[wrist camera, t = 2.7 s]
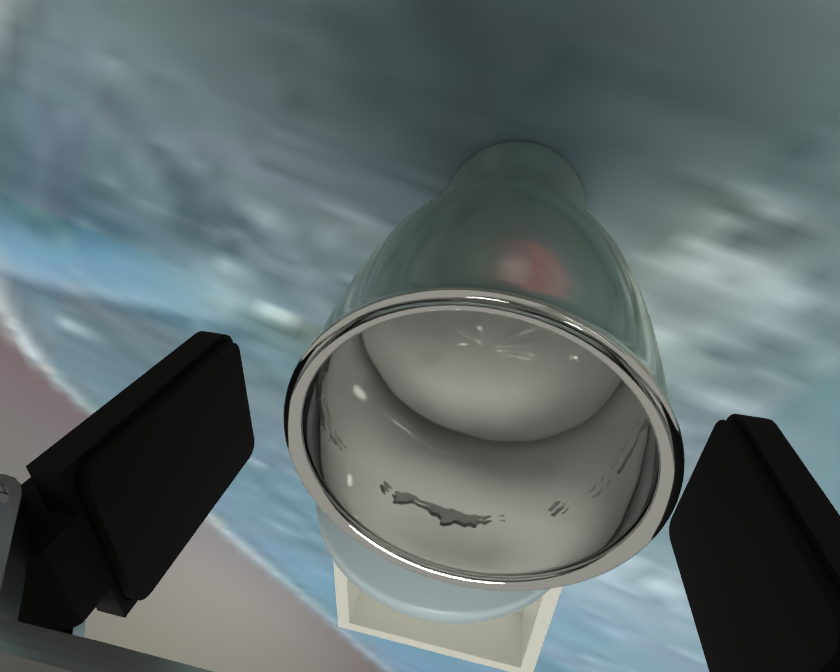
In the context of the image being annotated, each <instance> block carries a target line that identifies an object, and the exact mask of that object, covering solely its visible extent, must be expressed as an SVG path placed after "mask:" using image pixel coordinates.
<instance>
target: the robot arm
mask: <svg viewBox="0 0 840 672" xmlns="http://www.w3.org/2000/svg"><path fill="white" fill-rule="evenodd" d="M253 448H254V435H253V429H252V423H251V417H250V411H249V404H248V398H247V392H246V386H245V380H244V374H243V368H242V361H241V355H240V350H239V347H238V345H237V344H236V343H233V341H232V339H231V337H230V336H228V335H225V334H218V333H212V332H206V331H200V332H198V333H196V334H195V335H193V336H192V337H191V338H189V339H188V340H187V341H186V342H184V343H183V344H182V345H180V346H179V347H178V348H177V349H175V350H174V351H173V352H171V353H170V354H169V355H168V356H166V357H165V358H164V359H163V360H161V361H160V362H159V363H157V364H156V365H155V366H154V367H152V368H151V369H150V370H148V371H147V372H146V373H145V374H143V375H142V376H141V377H140V378H138V379H137V380H136V381H134V382H133V383H132V384H131V385H129V386H128V387H127V388H125V389H124V390H123V391H122V392H120V393H119V394H118V395H117V396H115V397H114V398H113V399H111V400H110V401H109V402H108V403H106V404H105V405H104V406H102V407H101V408H100V409H99V410H97V411H96V412H95V413H93V414H92V415H91V416H90V417H88V418H87V419H86V420H85V421H83V422H82V423H81V424H80V425H78V426H77V427H76V428H74V429H73V430H72V431H70V432H69V433H68V434H67V435H65V436H64V437H63V438H62V439H60V440H59V441H58V442H57V443H55V444H54V445H53V446H51V447H50V448H49V449H47V450H46V451H45V452H44V453H42V454H41V455H40V456H39V457H37V458H36V459H35V460H33V461H32V462H31V463H30V464H28V465H27V466H26V468H27V470H28V471H29V473H30V476H31V477H30V478H29V479H28V480H27V481H25V482H24V483H23V484H22V485H21V484H20V483H19V482H18V480H17V479H16V478H15V477H11V476H8V475H5V474H0V672H213V671H208V670H205V669H201V668H198V667H194V666H190V665H186V664H183V663H179V662H175V661H171V660H168V659H164V658H160V657H156V656H153V655H149V654H145V653H141V652H137V651H134V650H130V649H126V648H122V647H119V646H115V645H111V644H108V643H104V642H100V641H96V640H92V639H88V638H84V633H85V619H86V618H87V617H88V616H89V615H90V613H91V612H92V611H93V610H94V608H95V607H96V608H97V610H98V611H102V612H105V613H109V614H113V615H117V616H121V617H126V616H127V614H128V613H129V612H130V610H131V609H132V608H133V606H134V605H135V604H136V602H137V601H138V600H143V599H145V598H146V597H147V596H148V595H149V594H150V593H151V592H152V591H153V589H154V588H155V587H156V585H157V584H158V582H159V581H160V580H161V578H162V577H163V576H164V574H165V573H166V572H167V570H168V569H169V568H170V566H171V565H172V563H173V562H174V561H175V559H176V558H177V556H178V555H179V554H180V552H181V551H182V550H183V548H184V547H185V545H186V544H187V543H188V541H189V540H190V539H191V537H192V536H193V534H194V533H195V532H196V530H197V529H198V528H199V526H200V525H201V524H202V522H203V521H204V519H205V518H206V517H207V515H208V514H209V513H210V511H211V510H212V508H213V507H214V506H215V504H216V503H217V502H218V500H219V499H220V497H221V496H222V495H223V493H224V492H225V491H226V489H227V488H228V487H229V485H230V484H231V482H232V481H233V480H234V478H235V477H236V476H237V474H238V473H239V471H240V470H241V469H242V467H243V466H244V465H245V463H246V462H247V460H248V459H249V458H250V456H251V454H252V451H253ZM669 535H670V541H671V544H672V547H673V551H674V554H675V557H676V561H677V564H678V568H679V571H680V574H681V578H682V581H683V584H684V588H685V591H686V594H687V598H688V601H689V605H690V608H691V611H692V615H693V618H694V621H695V625H696V628H697V631H698V635H699V638H700V641H701V645H702V648H703V652H704V655H705V658H706V662H707V665H708V668H709V672H840V515H839V514H838V512H837V511H836V510H835V508H834V507H833V505H832V504H831V502H830V501H829V500H828V498H827V497H826V495H825V494H824V492H823V491H822V489H821V488H820V487H819V485H818V484H817V482H816V481H815V479H814V478H813V477H812V475H811V474H810V472H809V471H808V469H807V468H806V466H805V465H804V464H803V462H802V461H801V459H800V458H799V456H798V455H797V454H796V452H795V451H794V449H793V448H792V446H791V445H790V443H789V442H788V441H787V439H786V438H785V436H784V435H783V433H782V432H781V431H780V429H779V428H778V426H777V425H776V424H775V423H774V422H773V421H772V420H770V419H766V418H759V417H753V416H746V415H740V414H732V415H731V416H729V417H728V418H727V420H719V421H718V422H717V423H716V424H715V426H714V428H713V430H712V432H711V435H710V437H709V439H708V441H707V443H706V445H705V447H704V450H703V452H702V454H701V456H700V458H699V460H698V462H697V465H696V467H695V469H694V471H693V473H692V475H691V477H690V480H689V482H688V484H687V486H686V488H685V490H684V492H683V495H682V497H681V499H680V501H679V503H678V505H677V508H676V510H675V512H674V514H673V516H672V518H671V521H670V526H669Z"/></svg>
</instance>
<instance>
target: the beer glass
mask: <svg viewBox="0 0 840 672" xmlns="http://www.w3.org/2000/svg"><path fill="white" fill-rule="evenodd" d="M284 431H285V438H286V443H287V447H288V451H289V454H290V457H291V460H292V463H293V465H294V467H295V470H296V472H297V474H298V476H299V478H300V480H301V481H302V483H303V485H304V487H305V488H306V490H307V491H308V493H309V494H310V495H311V497H312V498H313V500H314V501H315V502H316V503H317V505H318V506H319V507H320V508H321V509H322V510H323V512H324V513H325V514H326V515H327V516H328V517H329V518H330V519H331V520H332V521H333V522H334V523H335V524H336V525H337V526H338V527H340V528H341V529H342V530H343V531H344V532H345V533H347V534H348V535H349V536H350V537H352V538H353V539H354V540H356V541H357V542H358V543H360V544H361V545H363V546H364V547H366V548H367V549H369V550H370V551H372V552H374V553H375V554H377V555H379V556H381V557H382V558H384V559H386V560H388V561H390V562H392V563H394V564H396V565H398V566H400V567H403V568H405V569H407V570H410V571H412V572H415V573H417V574H420V575H423V576H426V577H429V578H432V579H435V580H438V581H442V582H446V583H450V584H454V585H459V586H464V587H469V588H476V589H483V590H495V591H533V590H543V589H551V588H557V587H562V586H567V585H571V584H575V583H579V582H582V581H585V580H588V579H591V578H594V577H596V576H599V575H601V574H604V573H606V572H608V571H610V570H612V569H614V568H616V567H618V566H619V565H621V564H623V563H624V562H626V561H627V560H629V559H630V558H632V557H633V556H635V555H636V554H637V553H639V552H640V551H641V550H642V549H643V548H644V547H646V546H647V545H648V544H649V543H650V542H651V541H652V540H653V539H654V537H655V536H656V535H657V534H658V533H659V532H660V530H661V529H662V528H663V526H664V525H665V523H666V522H667V520H668V519H669V517H670V515H671V513H672V512H673V510H674V507H675V505H676V503H677V500H678V497H679V494H680V491H681V487H682V482H683V476H684V447H683V441H682V435H681V431H680V427H679V424H678V421H677V419H676V416H675V414H674V411H673V409H672V407H671V403H670V399H669V395H668V390H667V385H666V380H665V375H664V370H663V365H662V361H661V357H660V353H659V349H658V345H657V341H656V336H655V332H654V328H653V325H652V322H651V319H650V316H649V313H648V310H647V307H646V304H645V301H644V299H643V296H642V293H641V290H640V288H639V285H638V283H637V281H636V279H635V277H634V275H633V273H632V271H631V269H630V267H629V265H628V263H627V261H626V260H625V258H624V256H623V254H622V252H621V250H620V249H619V247H618V245H617V244H616V242H615V241H614V240H613V238H612V237H611V236H610V235H609V233H608V232H607V231H606V230H605V229H604V228H603V227H602V226H601V225H600V223H599V222H598V221H597V220H596V219H595V218H594V217H593V216H592V215H591V214H590V213H589V212H588V210H587V199H586V194H585V191H584V188H583V185H582V183H581V180H580V178H579V177H578V175H577V173H576V172H575V170H574V169H573V168H572V166H571V165H570V164H569V163H568V162H567V161H566V160H565V159H564V158H563V157H562V156H560V155H559V154H558V153H556V152H554V151H553V150H551V149H549V148H547V147H544V146H542V145H539V144H535V143H530V142H521V141H513V142H505V143H500V144H496V145H493V146H490V147H488V148H486V149H484V150H482V151H480V152H478V153H477V154H475V155H474V156H472V157H471V158H470V159H468V160H467V161H466V162H465V163H464V164H463V165H462V166H461V167H460V169H459V170H458V171H457V172H456V174H455V175H454V177H453V178H452V180H451V182H450V184H449V186H448V188H447V191H446V192H445V193H443V194H441V195H439V196H437V197H436V198H434V199H432V200H430V201H429V202H427V203H425V204H424V205H422V206H421V207H419V208H418V209H416V210H415V211H414V212H412V213H411V214H410V215H409V216H407V217H406V218H405V219H404V220H403V221H402V222H401V223H400V224H399V225H398V226H397V227H396V228H395V229H394V230H393V231H392V232H391V233H390V234H389V235H388V236H387V237H386V238H385V239H384V240H383V241H382V242H381V243H380V244H379V245H378V246H377V248H376V249H375V250H374V251H373V253H372V254H371V255H370V257H369V258H368V259H367V261H366V262H365V263H364V265H363V266H362V267H361V269H360V270H359V271H358V273H357V274H356V275H355V277H354V278H353V280H352V281H351V283H350V284H349V286H348V287H347V289H346V291H345V292H344V294H343V295H342V297H341V298H340V300H339V302H338V303H337V305H336V306H335V308H334V310H333V311H332V313H331V315H330V317H329V318H328V320H327V322H326V323H325V325H324V327H323V329H322V330H321V332H320V333H319V335H318V337H317V338H316V339H315V340H314V341H313V343H312V344H311V345H310V346H309V347H308V349H307V350H306V351H305V353H304V354H303V356H302V357H301V359H300V360H299V362H298V364H297V366H296V368H295V370H294V372H293V374H292V377H291V379H290V382H289V385H288V389H287V392H286V397H285V403H284Z"/></svg>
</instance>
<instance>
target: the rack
mask: <svg viewBox="0 0 840 672" xmlns="http://www.w3.org/2000/svg"><path fill="white" fill-rule="evenodd" d="M316 508H317V518H318V524H319V528H320V532H321V536H322V539H323V541H324V544H325V546H326V548H327V551H328V553H329V554H330V556H331V557H332V559H333V564H334V576H335V589H336V601H337V614H338V626H339V627H342V628H346V629H350V630H354V631H357V632H361V633H365V634H369V635H373V636H376V637H380V638H384V639H388V640H392V641H395V642H399V643H403V644H407V645H410V646H414V647H418V648H422V649H426V650H429V651H433V652H437V653H441V654H444V655H448V656H452V657H456V658H460V659H463V660H467V661H471V662H475V663H479V664H482V665H486V666H490V667H494V668H497V669H501V670H505V671H509V672H533V671H534V668H535V665H536V662H537V659H538V656H539V653H540V651H541V648H542V645H543V642H544V639H545V636H546V633H547V630H548V627H549V625H550V622H551V619H552V616H553V613H554V610H555V607H556V604H557V601H558V599H559V596H560V593H561V590H562V587H563V586H562V587H557V588H551V589H543V590H533V591H495V590H483V589H476V588H469V587H464V586H459V585H454V584H450V583H446V582H442V581H438V580H435V579H432V578H429V577H426V576H423V575H420V574H417V573H415V572H412V571H410V570H407V569H405V568H403V567H400V566H398V565H396V564H394V563H392V562H390V561H388V560H386V559H384V558H382V557H381V556H379V555H377V554H375V553H374V552H372V551H370V550H369V549H367V548H366V547H364V546H363V545H361V544H360V543H358V542H357V541H356V540H354V539H353V538H352V537H350V536H349V535H348V534H347V533H345V532H344V531H343V530H342V529H341V528H340V527H338V526H337V525H336V524H335V523H334V522H333V521H332V520H331V519H330V518H329V517H328V516H327V515H326V514H325V513H324V512H323V510H322V509H321V508H320V507H319V506H318V505H317V503H316Z"/></svg>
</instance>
